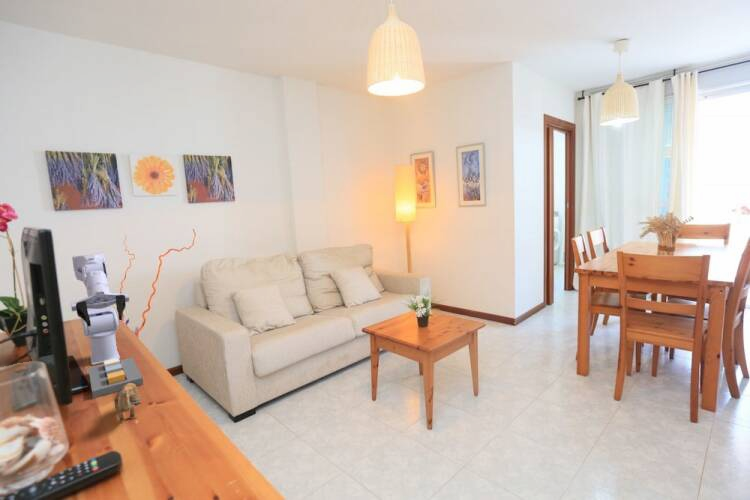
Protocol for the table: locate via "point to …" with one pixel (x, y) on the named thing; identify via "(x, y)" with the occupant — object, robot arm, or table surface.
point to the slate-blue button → (113, 369)
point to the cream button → (111, 362)
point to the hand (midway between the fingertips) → (105, 320)
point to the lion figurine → (127, 401)
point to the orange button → (116, 377)
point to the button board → (103, 388)
